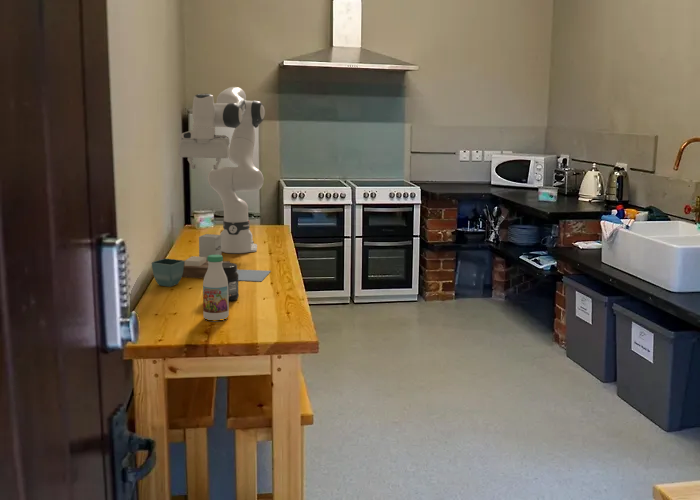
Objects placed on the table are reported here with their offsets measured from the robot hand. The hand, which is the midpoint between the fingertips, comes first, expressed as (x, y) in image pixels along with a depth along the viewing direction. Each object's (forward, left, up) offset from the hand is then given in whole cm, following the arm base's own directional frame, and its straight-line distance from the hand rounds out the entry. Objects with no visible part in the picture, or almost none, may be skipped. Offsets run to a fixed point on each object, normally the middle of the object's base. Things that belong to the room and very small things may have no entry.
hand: (204, 169), depth 278 cm
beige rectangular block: (+13, 0, -37) cm, 39 cm away
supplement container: (+49, +21, -41) cm, 67 cm away
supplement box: (-4, +1, -41) cm, 41 cm away
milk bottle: (+72, +25, -41) cm, 87 cm away
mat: (+13, +21, -41) cm, 47 cm away
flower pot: (+33, -4, -41) cm, 53 cm away
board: (+13, +3, -41) cm, 43 cm away
